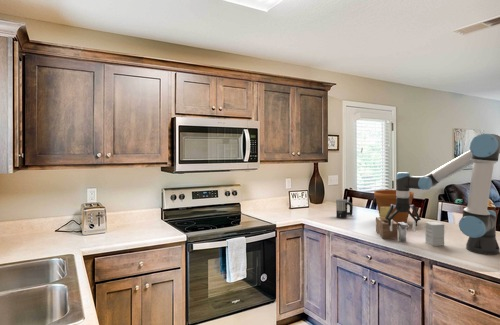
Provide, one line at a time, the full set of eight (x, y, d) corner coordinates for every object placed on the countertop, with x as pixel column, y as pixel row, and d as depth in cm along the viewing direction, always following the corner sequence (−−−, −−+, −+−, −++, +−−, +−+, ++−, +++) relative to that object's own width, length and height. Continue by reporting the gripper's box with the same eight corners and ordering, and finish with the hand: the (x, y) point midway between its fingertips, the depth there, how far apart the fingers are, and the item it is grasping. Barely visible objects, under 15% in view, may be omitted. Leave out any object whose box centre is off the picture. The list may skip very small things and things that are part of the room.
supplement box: (436, 242, 196) (436, 221, 195) (444, 245, 188) (444, 224, 188) (425, 242, 195) (425, 222, 195) (432, 246, 188) (432, 224, 187)
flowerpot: (421, 223, 244) (421, 192, 243) (396, 228, 231) (396, 195, 230) (390, 216, 269) (390, 189, 268) (366, 220, 256) (366, 191, 255)
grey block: (408, 242, 196) (408, 224, 195) (401, 242, 196) (401, 224, 196) (404, 239, 202) (404, 222, 202) (397, 239, 203) (397, 222, 203)
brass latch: (391, 219, 214) (391, 207, 213) (380, 219, 215) (380, 207, 215) (390, 219, 215) (390, 206, 214) (380, 219, 216) (379, 206, 215)
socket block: (397, 239, 204) (397, 223, 203) (382, 238, 205) (382, 223, 205) (389, 231, 222) (389, 217, 222) (376, 231, 224) (375, 217, 223)
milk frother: (335, 218, 268) (335, 200, 267) (335, 214, 283) (335, 197, 283) (353, 218, 264) (353, 201, 264) (352, 215, 280) (352, 198, 279)
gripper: (422, 196, 200) (421, 229, 201) (380, 196, 204) (380, 228, 205) (426, 198, 193) (426, 233, 193) (383, 197, 197) (382, 231, 198)
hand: (402, 231), depth 199 cm, fingers open, 13 cm apart
